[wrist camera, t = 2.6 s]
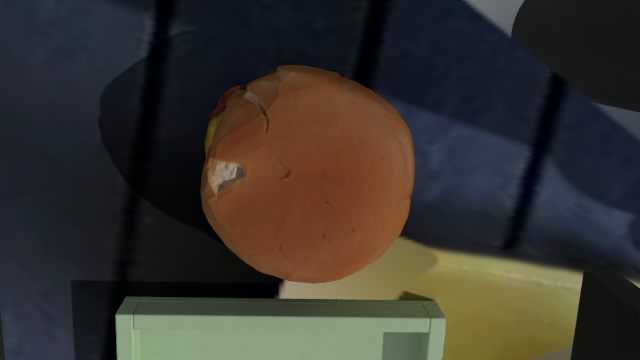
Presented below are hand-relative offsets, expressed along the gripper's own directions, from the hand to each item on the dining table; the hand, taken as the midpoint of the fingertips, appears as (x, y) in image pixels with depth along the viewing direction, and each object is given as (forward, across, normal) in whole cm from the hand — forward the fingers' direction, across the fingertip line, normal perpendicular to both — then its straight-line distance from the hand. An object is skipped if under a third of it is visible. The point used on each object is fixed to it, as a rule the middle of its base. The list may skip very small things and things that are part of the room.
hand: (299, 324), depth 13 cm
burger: (+16, +1, 0) cm, 16 cm away
